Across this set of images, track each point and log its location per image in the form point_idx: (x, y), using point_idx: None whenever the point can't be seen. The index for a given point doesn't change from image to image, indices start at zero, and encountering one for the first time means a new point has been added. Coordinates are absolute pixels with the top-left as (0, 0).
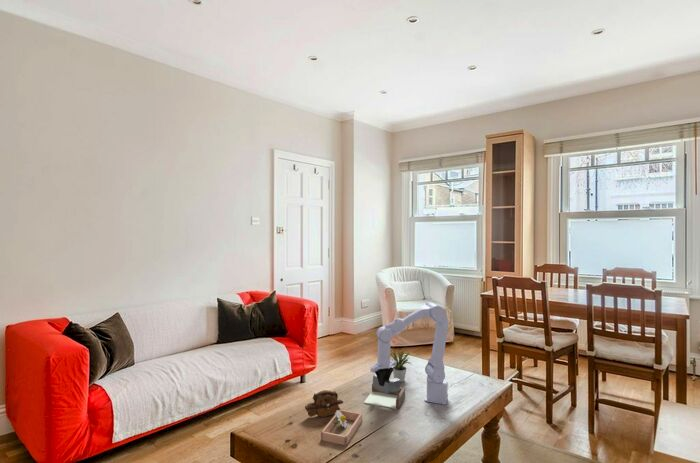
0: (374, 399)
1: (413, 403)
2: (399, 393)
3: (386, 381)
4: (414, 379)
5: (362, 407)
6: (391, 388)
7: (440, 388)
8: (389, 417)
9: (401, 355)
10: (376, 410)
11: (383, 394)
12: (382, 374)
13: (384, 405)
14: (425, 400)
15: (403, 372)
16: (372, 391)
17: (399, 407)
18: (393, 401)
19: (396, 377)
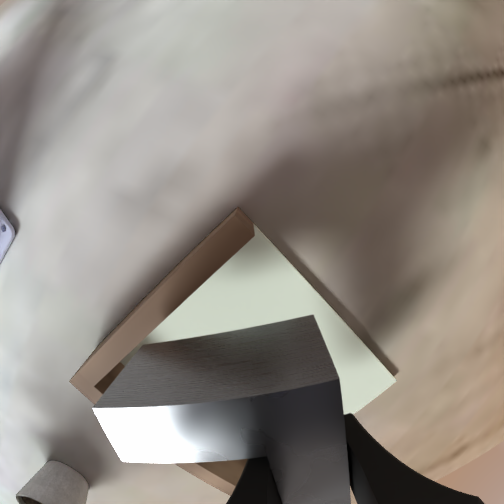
0: None
1: (85, 241)
2: (149, 332)
3: (328, 436)
4: (6, 441)
5: (432, 335)
6: (266, 349)
7: None
8: (370, 135)
9: None
10: (391, 267)
11: None
12: (459, 500)
13: (313, 295)
14: (10, 228)
15: (35, 489)
16: None
17: (214, 229)
18: (211, 320)
19: (77, 490)
